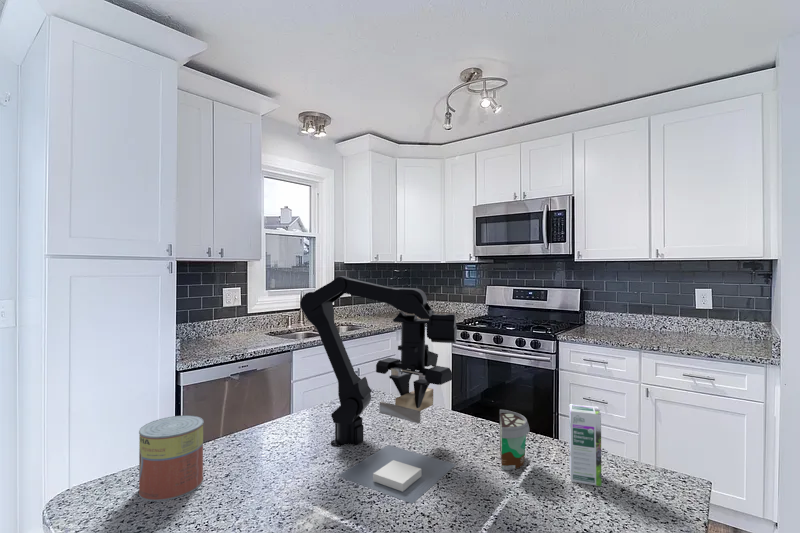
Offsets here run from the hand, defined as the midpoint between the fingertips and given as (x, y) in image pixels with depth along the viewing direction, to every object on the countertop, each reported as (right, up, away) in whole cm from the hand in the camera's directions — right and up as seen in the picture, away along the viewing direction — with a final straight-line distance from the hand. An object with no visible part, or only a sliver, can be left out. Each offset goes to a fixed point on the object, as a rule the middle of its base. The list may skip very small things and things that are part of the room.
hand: (412, 406), depth 99 cm
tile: (-1, -9, -13) cm, 16 cm away
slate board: (-3, -10, -12) cm, 16 cm away
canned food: (-48, -10, -17) cm, 52 cm away
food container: (+23, -11, -7) cm, 26 cm away
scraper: (+1, -1, +1) cm, 2 cm away
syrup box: (+35, -11, -13) cm, 39 cm away
